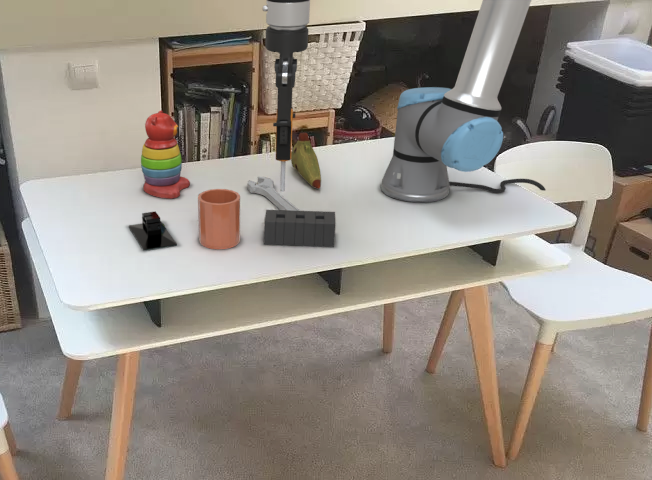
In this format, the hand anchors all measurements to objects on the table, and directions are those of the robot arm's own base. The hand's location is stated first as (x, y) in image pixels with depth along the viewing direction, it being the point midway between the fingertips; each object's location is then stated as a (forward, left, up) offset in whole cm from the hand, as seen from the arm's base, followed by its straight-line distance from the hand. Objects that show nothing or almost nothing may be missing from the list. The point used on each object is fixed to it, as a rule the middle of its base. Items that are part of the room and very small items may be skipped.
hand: (283, 155), depth 146 cm
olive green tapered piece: (-5, -35, -18) cm, 39 cm away
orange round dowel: (0, 0, -7) cm, 7 cm away
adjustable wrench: (+2, -19, -17) cm, 26 cm away
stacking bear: (+28, -25, -17) cm, 42 cm away
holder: (-4, 0, -17) cm, 18 cm away
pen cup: (+12, +2, -17) cm, 21 cm away
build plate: (+26, +1, -17) cm, 32 cm away
